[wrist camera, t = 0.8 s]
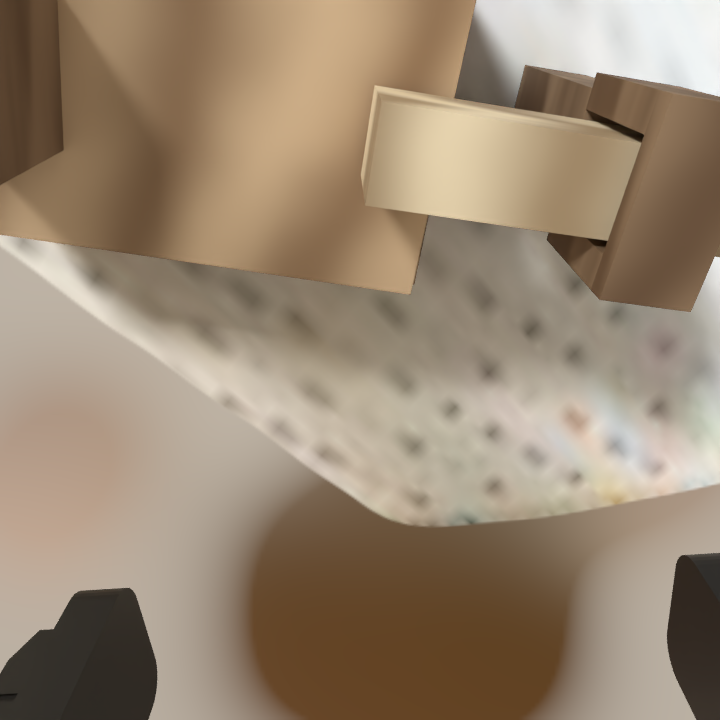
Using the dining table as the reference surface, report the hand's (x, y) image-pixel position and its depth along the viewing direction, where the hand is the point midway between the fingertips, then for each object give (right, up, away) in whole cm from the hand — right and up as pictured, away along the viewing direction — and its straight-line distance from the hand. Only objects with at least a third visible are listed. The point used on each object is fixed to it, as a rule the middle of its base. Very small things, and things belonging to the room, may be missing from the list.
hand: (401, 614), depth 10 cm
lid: (-8, +14, +14) cm, 21 cm away
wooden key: (+6, +11, +14) cm, 18 cm away
